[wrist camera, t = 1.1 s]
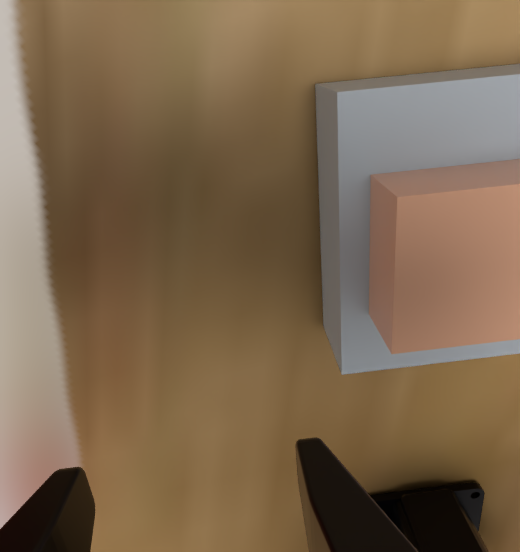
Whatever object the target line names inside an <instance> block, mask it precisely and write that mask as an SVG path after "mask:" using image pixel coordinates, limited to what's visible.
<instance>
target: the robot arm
mask: <svg viewBox="0 0 520 552" xmlns="http://www.w3.org/2000/svg"><path fill="white" fill-rule="evenodd" d="M296 461H297V475H298V484H299V491H300V497H301V503H302V510H303V516H304V522H305V529H306V535H307V542H308V548H309V552H488V550H487V548H486V546H485V544H484V542H483V540H482V539H481V537H480V535H479V533H478V531H479V524H480V518H481V512H482V506H483V500H484V491H483V489H482V487H481V486H480V484H478V483H465V484H457V485H450V486H442V487H434V488H426V489H418V490H411V491H403V492H395V493H387V494H380V495H372V496H370V495H369V494H368V493H367V492H366V491H365V490H364V488H363V487H362V486H361V485H360V484H359V483H358V482H357V480H356V479H355V478H354V477H353V476H352V475H351V474H350V472H349V471H348V470H347V469H346V468H345V467H344V465H343V464H342V463H341V462H340V461H339V460H338V459H337V457H336V456H335V455H334V454H333V453H332V452H331V450H330V449H329V448H328V447H327V446H326V445H325V444H324V442H323V441H322V440H321V439H319V438H308V439H300V440H298V441H297V442H296ZM94 519H95V502H94V498H93V495H92V492H91V489H90V486H89V483H88V480H87V477H86V474H85V472H84V470H83V469H82V468H81V467H73V468H65V469H59V470H57V471H55V472H54V473H53V474H52V475H51V476H50V477H49V478H48V479H47V480H46V481H45V483H44V484H43V485H42V486H41V487H40V488H39V489H38V490H37V491H36V492H35V493H34V494H33V495H32V496H31V497H30V498H29V499H28V500H27V501H26V502H25V504H24V505H23V506H22V507H21V508H20V509H19V510H18V511H17V512H16V513H15V514H14V515H13V516H12V517H11V518H10V519H9V521H8V522H7V523H6V524H5V525H4V526H3V527H2V528H1V529H0V552H90V549H91V542H92V534H93V526H94Z"/></svg>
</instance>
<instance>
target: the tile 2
mask: <svg viewBox="0 0 520 552" xmlns="http://www.w3.org/2000/svg"><path fill="white" fill-rule="evenodd" d="M369 315H370V317H371V319H372V321H373V323H374V324H375V326H376V328H377V330H378V331H379V333H380V335H381V337H382V338H383V340H384V342H385V344H386V346H387V347H388V349H389V351H390V353H391V354H398V353H407V352H415V351H424V350H432V349H441V348H449V347H457V346H466V345H474V344H483V343H491V342H500V341H508V340H517V339H520V159H514V160H505V161H495V162H486V163H476V164H467V165H457V166H448V167H438V168H429V169H419V170H410V171H400V172H391V173H381V174H372V175H370V253H369Z"/></svg>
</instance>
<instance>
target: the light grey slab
mask: <svg viewBox="0 0 520 552" xmlns="http://www.w3.org/2000/svg"><path fill="white" fill-rule="evenodd" d="M315 93H316V122H317V151H318V181H319V210H320V239H321V268H322V297H323V326H324V329H325V332H326V334H327V337H328V340H329V342H330V345H331V347H332V350H333V353H334V355H335V358H336V361H337V363H338V366H339V369H340V371H341V374H342V375H343V374H351V373H360V372H368V371H376V370H385V369H393V368H402V367H410V366H418V365H427V364H435V363H443V362H452V361H460V360H469V359H477V358H485V357H494V356H502V355H510V354H519V353H520V339H517V340H508V341H500V342H491V343H483V344H474V345H466V346H457V347H449V348H441V349H432V350H424V351H415V352H407V353H398V354H391V353H390V351H389V349H388V347H387V346H386V344H385V342H384V340H383V338H382V337H381V335H380V333H379V331H378V330H377V328H376V326H375V324H374V323H373V321H372V319H371V317H370V315H369V253H370V175H372V174H381V173H391V172H400V171H410V170H419V169H429V168H438V167H448V166H457V165H467V164H476V163H486V162H495V161H505V160H514V159H520V64H511V65H501V66H491V67H481V68H471V69H461V70H450V71H440V72H430V73H420V74H410V75H400V76H389V77H379V78H369V79H359V80H349V81H339V82H328V83H318V84H315Z"/></svg>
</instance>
